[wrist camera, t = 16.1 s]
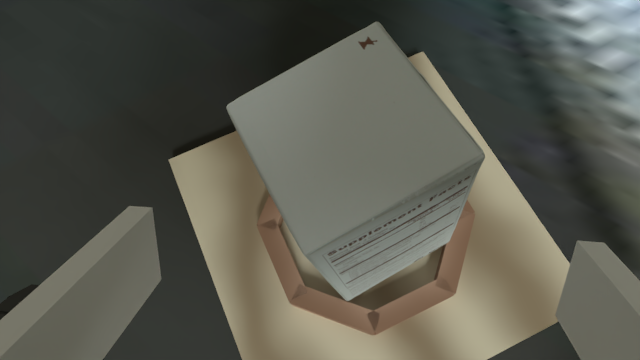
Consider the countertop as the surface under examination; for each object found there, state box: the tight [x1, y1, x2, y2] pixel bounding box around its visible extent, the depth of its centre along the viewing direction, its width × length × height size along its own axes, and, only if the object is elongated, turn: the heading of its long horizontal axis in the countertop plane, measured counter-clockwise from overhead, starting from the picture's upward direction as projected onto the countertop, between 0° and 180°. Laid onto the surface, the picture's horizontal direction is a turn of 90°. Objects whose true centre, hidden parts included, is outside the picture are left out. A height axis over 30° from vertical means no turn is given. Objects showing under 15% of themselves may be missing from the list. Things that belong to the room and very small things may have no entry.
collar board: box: [169, 52, 570, 360], centre depth 28 cm, size 20×20×2 cm
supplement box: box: [226, 22, 485, 301], centre depth 22 cm, size 7×7×13 cm
